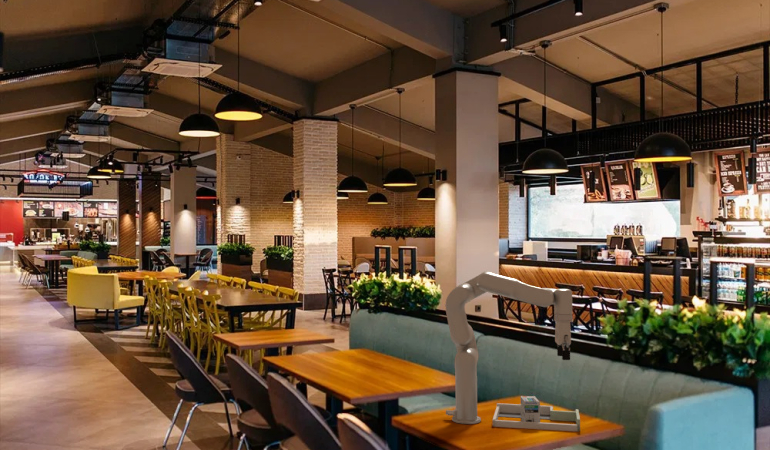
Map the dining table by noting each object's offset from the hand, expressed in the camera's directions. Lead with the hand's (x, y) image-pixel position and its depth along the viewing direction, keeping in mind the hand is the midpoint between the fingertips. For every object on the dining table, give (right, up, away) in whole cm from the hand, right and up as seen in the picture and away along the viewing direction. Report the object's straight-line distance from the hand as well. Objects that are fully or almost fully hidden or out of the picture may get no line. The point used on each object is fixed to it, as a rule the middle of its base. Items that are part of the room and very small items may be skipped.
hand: (563, 357), depth 292 cm
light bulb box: (-13, -30, +4) cm, 33 cm away
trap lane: (-10, -29, +8) cm, 32 cm away
